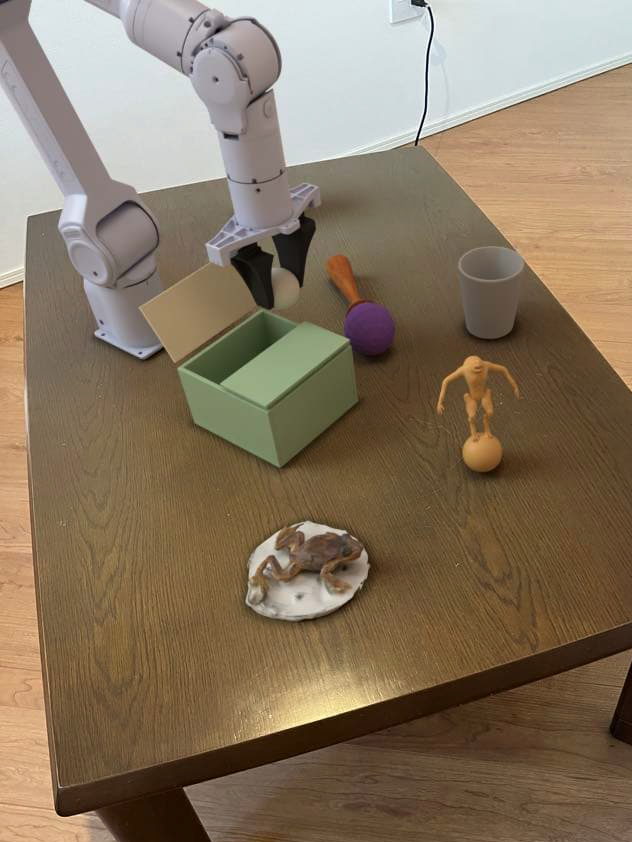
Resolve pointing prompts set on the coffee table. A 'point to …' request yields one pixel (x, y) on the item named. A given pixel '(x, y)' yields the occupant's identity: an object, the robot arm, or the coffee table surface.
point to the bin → (271, 385)
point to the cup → (490, 289)
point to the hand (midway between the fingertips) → (279, 295)
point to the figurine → (480, 447)
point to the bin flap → (198, 308)
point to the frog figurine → (305, 572)
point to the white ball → (284, 288)
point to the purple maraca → (361, 312)
